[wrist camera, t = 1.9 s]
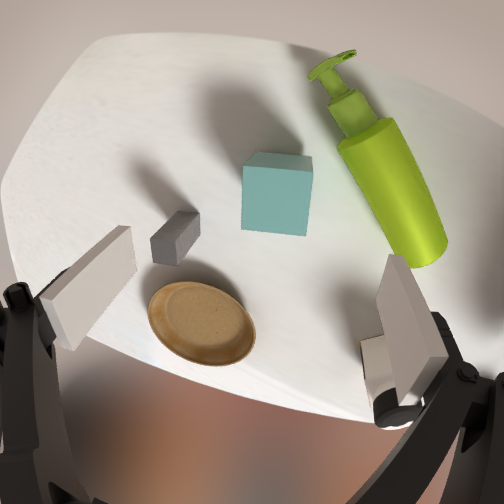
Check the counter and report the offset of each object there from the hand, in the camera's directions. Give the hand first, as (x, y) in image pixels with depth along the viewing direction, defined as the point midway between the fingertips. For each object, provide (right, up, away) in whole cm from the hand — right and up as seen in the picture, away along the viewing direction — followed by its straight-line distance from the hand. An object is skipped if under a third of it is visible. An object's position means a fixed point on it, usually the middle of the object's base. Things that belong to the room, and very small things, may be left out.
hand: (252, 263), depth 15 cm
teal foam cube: (+3, +7, +14) cm, 16 cm away
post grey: (-7, +4, +19) cm, 21 cm away
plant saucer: (-6, -8, +26) cm, 28 cm away
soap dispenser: (+17, +1, +12) cm, 21 cm away
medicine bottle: (+19, -13, +23) cm, 33 cm away
